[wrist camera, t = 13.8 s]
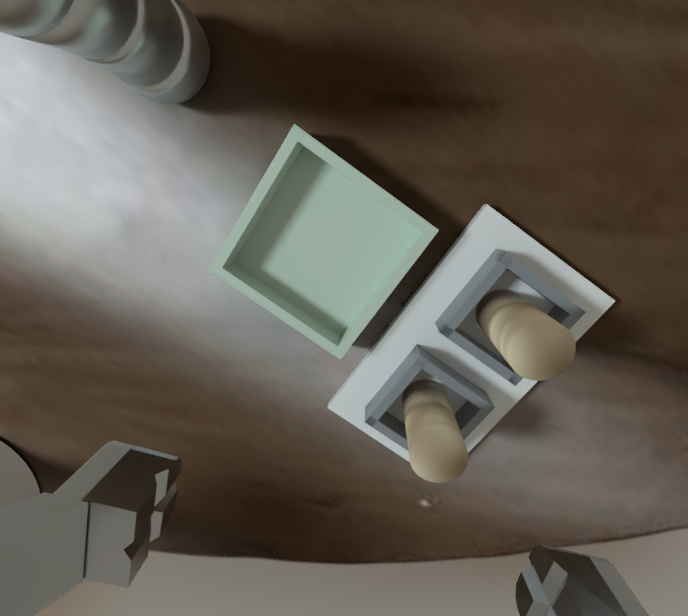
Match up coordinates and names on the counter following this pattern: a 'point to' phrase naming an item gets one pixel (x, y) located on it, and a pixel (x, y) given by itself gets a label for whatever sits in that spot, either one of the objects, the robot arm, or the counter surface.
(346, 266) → the tote
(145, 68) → the plastic bottle
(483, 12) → the counter surface
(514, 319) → the cylinder
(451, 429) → the cylinder
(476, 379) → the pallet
